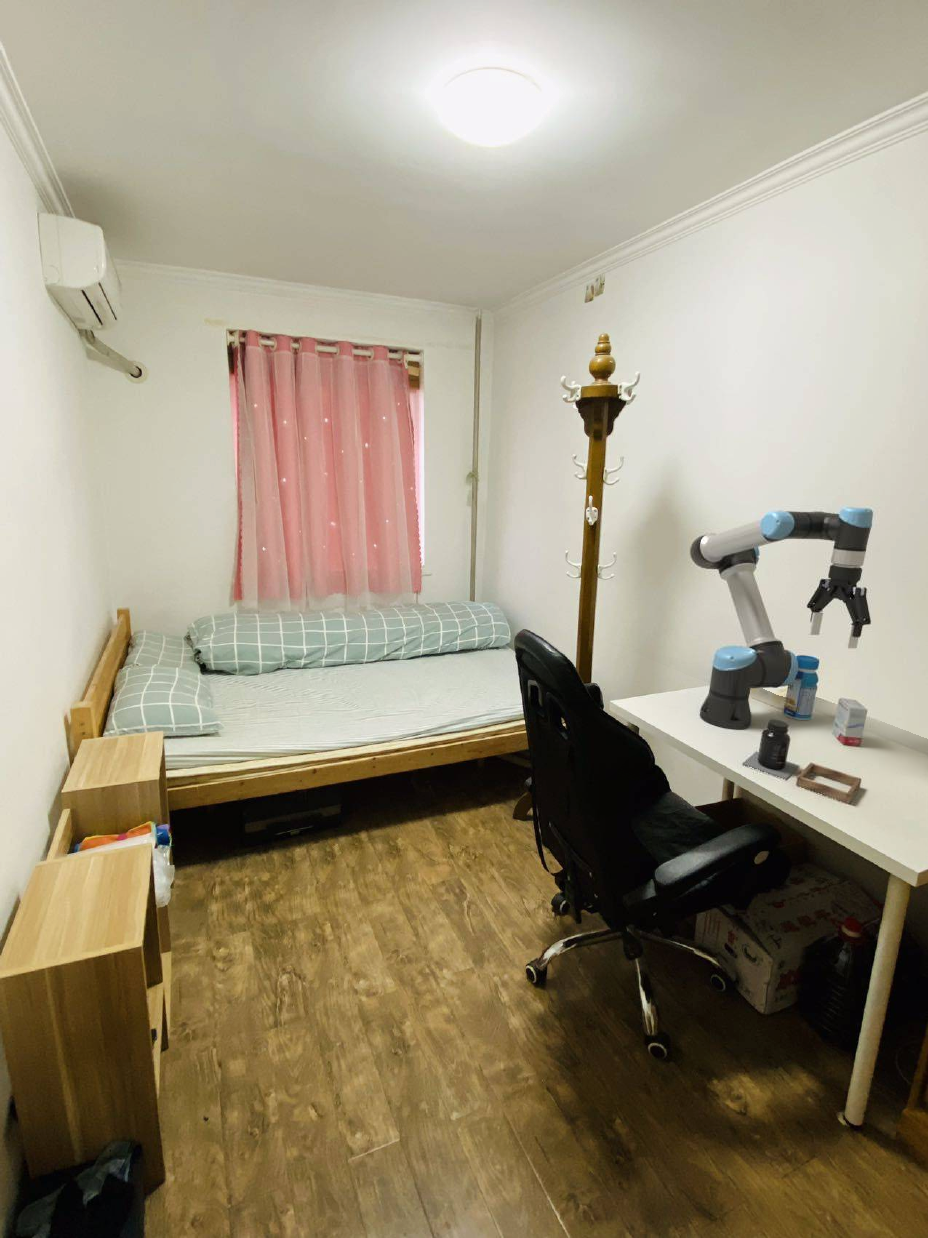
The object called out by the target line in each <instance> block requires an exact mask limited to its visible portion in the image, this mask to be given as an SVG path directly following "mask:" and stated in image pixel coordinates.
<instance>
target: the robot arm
mask: <svg viewBox="0 0 928 1238" xmlns="http://www.w3.org/2000/svg"><path fill="white" fill-rule="evenodd" d="M873 517H874V511H873V510H872V509H871V508H866V507H853V506H852V507H845V506H844V507H842V508H841V509H840V512H839V513H834V512H833V513H832V512H824V511H822V510H821V511H816V510H815V511H790V510H789V511H787V510H774V511H773V510H772V511H769V512H767V513H765V515H764V516H762V518H761V519H759V520H755V521H752V522H749V523H746V524H743V525H740V526H737V527H734V528H731V529H728V530H724V531H722V532H719V533H715V532H710V533H705V534H704V535H700V536H698V537H697V538H695V539H694V540H693V542H692V543H691V545H690V548H689V557H690V558H691V561H692V562H693V563H694V565H696V566H697V567H699V568H702V569H705V570H718V573H719V577H720V578H721V579H722V580H724V581H726V583H727V585H728V586H727V587H728V590H729V592H730V596H731V599H732V603H733V606H734V608H735V612H736V615H737V618H738V621H739V625H740V628H741V631H742V633H743V637H744V640H745V643H746V646H743V645H739V646H738V645H726V646H722V647H720V648H718V649H717V650H716V651H715V653H714V658H713V660H712V668H711V669H712V670H711V674H710V675H711V676H710V681H709V689H708V693H707V696H706V698H705V699H704V702H703V703H702V705H701V707H700V710H699V718H701V720H703V721H704V722H707V723H708V724H711V725H713V726H716V727H720V728H725V729H731V730H733V729H735V730H736V729H737V730H740V729H741V730H742V729H747V728H750V727H751V725H752V718H753V716H752V712H751V707H750V702H749V698H750V694H751V689H765V688H767V689H768V688H773V689H779V688H781V687H788V685H789V684H791V683H792V682H793V681H794V679H795V678H796V675H797V672H798V661H797V658H796V656H797V655H795V653H793V652H792V651H790V650H789V649H785V647H784V644H783V642H782V640H780V639H778V638H776V637H775V634H774V630H773V628H772V626H771V621H770V618H769V616H768V613H767V610H766V607H765V604H764V602H763V598H762V594H761V593H760V592H761V591H760V588H759V586H758V584H757V580H756V578H755V575H754V572H755V571H756V570H757V565H758V562H759V560H760V558H759V556H760V550H759V549H760V548H759V547H762V546H765V545H768V544H772V543H776V542H781V541H783V540H823V541H830V542H834V545H833V547H832V548H833V549H832V554H831V559H830V563H831V565H830V566H829V570H828V574H827V575H828V576H827V577H828V578H821V579H820V580H819V584H818V587H817V589H815V591H814V593H813V594H812V597H811V598H810V599H809V601H808V603H807V604H806V608H807V609H810V611H811V615H810V625H809V626H810V627H809V632H808V635H811V636H819V635H820V631H821V625H822V621H823V615H824V613H823V610H824V609H825V608H826V607H827V606H828V605H829V604H830V603H831V602H832V601H833V600H834V599H837V600H839V601H842V603H843V604H844V605H845V606H846V609H847V611H848V613H849V617H850V619H851V622H852V623H850V624H849V628H848V633H847V638H846V644H845V648H846V649H857V647H858V642H859V638H860V637H861V636H862V631H863V627H864V626H865V625H867V626H868V625H869V626H870V625H871V624H872V621H871V615H870V610H869V604H868V598H867V593H868V591H867V590H868V589H867V587H865V586H863V587H860V586H859V587H857V586H858V585H857V583H858V582H860V581H861V577H862V573H863V569H862V566H864V562H865V557H866V552H867V547H868V542H869V537H870V533H871V530H872V526H873Z"/></svg>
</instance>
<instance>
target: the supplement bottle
mask: <svg viewBox="0 0 928 1238" xmlns="http://www.w3.org/2000/svg"><path fill="white" fill-rule="evenodd" d="M788 732H789V724H788V723H787V722H785V721H782V720H778V719H770V720H768V722H767V726H766V729H764V730H763V731H762V732H761V737H760V741H759V742H760V743H759V746H758V747H759V749H758V752H759V753H758V762H759V764H760V765H762V766H764V767H766V768H769V769H773V770H781V769H783V768H784V767H785V765H786V761H787V760H788V754H789V751H790V750H789V749H790V744H791V736H790V735H789V734H788Z"/></svg>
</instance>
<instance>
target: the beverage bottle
mask: <svg viewBox="0 0 928 1238" xmlns="http://www.w3.org/2000/svg"><path fill="white" fill-rule="evenodd" d="M795 656H796V658H797V661H798V672H797V675H796V678H795V679H794V681H793V682H792V683H791V684H789V685H787V689H786V694H785V695H786V696H785V701H784V707H783V711H782V712H783V715H785V716H786V717H788V718H790V719H792V718H793V719H792V720H797V721H809V720H811V719H812V715H813V710H814V705H815V700H816V694H817V691H818V682H819V676H818V674H817V670H818V669H819V666H820V659H819V658H817V657H815V656H811V655H805V654H800V655H795Z"/></svg>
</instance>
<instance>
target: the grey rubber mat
mask: <svg viewBox="0 0 928 1238" xmlns="http://www.w3.org/2000/svg"><path fill="white" fill-rule="evenodd" d="M758 753H759V751H755V752H753V754H751V755H750V756H749V757H748V758H747V759H746V760H744V761H743V762H742V763H741V765H742V764H743V765H742V766H744V765H745V766H744V767H746V766H749V767H752V768H754V769H753V770H755V769H758V770H760V771H759V772H761V771H762V772H761V773H764V772H766V773H765V774H767V773H768V774H767V775H769V774H772V775H774V776H773V777H775V776H777V777H776V778H778V777H780V778H779V779H781V778H783V779H782V780H784V779H785V780H784V781H787V780H788V779H789V778H790V777H791V776H792V775H793V773H795V771H796V770H797V769H798V768H799V767H800V765H799V764H796V763H794V762H791V761H787V760H786V765H785V767H784V768H783V769H781V770H773V769H769V768H766V767H764V766H762V765H760V764H759V762H758ZM749 767H748V768H749ZM752 768H751V769H752ZM758 770H757V771H758ZM772 775H771V776H772ZM787 778H788V779H787ZM786 779H787V780H786Z"/></svg>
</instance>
